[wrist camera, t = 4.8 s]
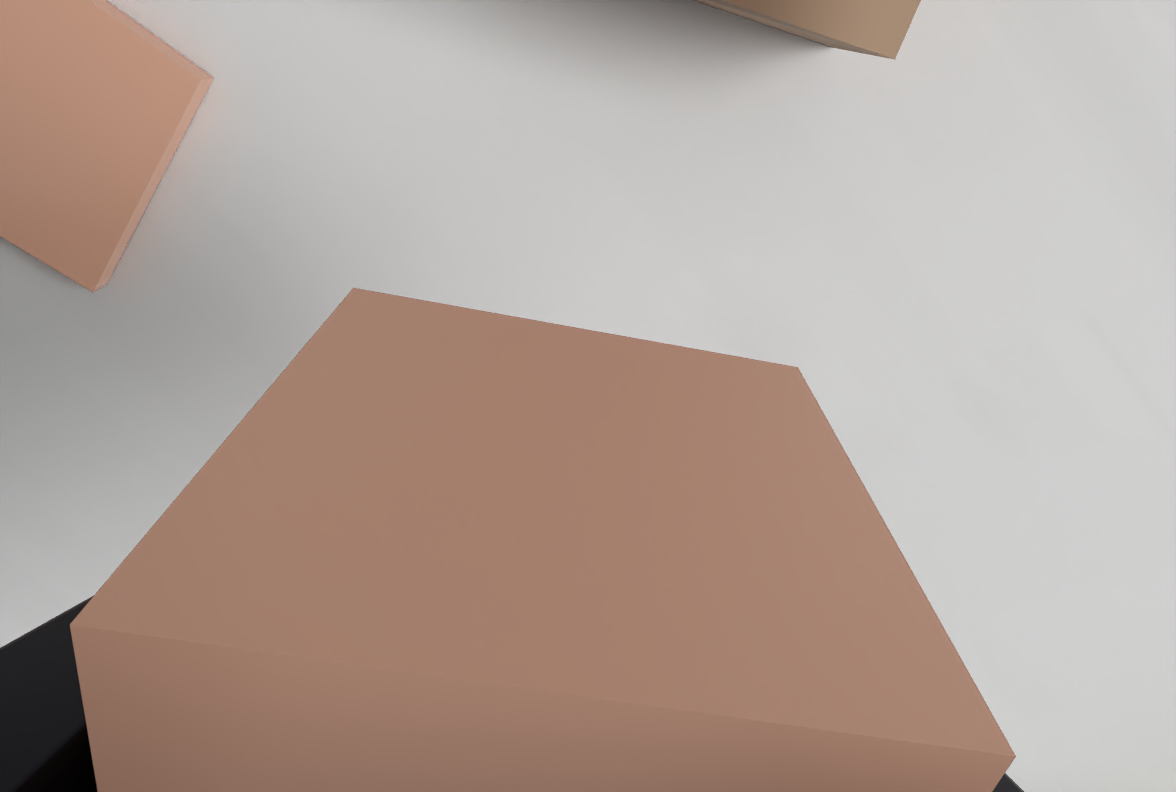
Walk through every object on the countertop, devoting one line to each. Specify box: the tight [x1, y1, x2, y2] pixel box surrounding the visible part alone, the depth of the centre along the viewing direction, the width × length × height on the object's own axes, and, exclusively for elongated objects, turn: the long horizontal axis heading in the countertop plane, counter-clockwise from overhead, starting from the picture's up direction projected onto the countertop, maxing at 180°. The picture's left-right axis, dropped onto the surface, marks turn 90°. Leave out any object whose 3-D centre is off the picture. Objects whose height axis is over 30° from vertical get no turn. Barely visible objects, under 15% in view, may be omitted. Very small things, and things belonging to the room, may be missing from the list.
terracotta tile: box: [0, 0, 213, 292], centre depth 17 cm, size 6×6×1 cm
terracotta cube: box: [70, 288, 1016, 792], centre depth 7 cm, size 5×5×5 cm
